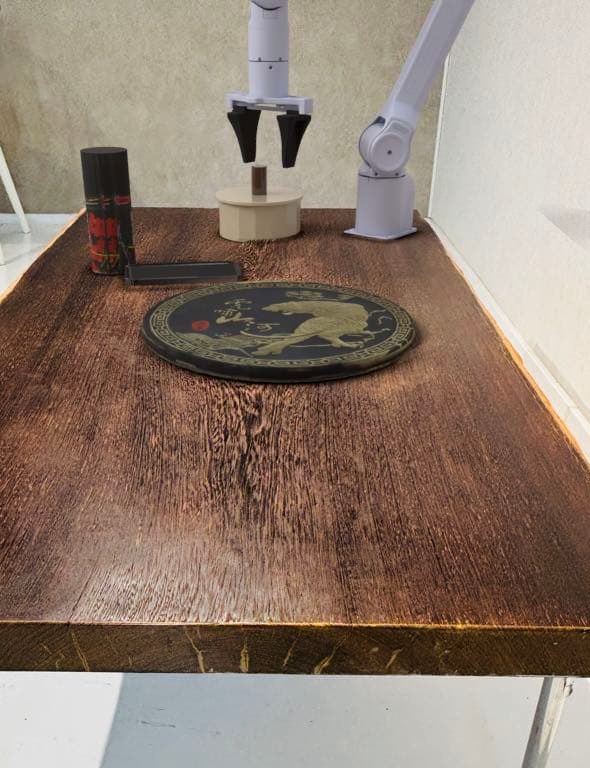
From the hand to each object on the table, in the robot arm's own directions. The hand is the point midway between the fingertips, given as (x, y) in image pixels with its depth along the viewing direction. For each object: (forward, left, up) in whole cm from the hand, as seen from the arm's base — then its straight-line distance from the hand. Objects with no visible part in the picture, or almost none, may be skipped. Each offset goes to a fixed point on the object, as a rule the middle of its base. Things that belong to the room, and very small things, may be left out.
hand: (268, 164), depth 128 cm
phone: (+26, +7, -10) cm, 29 cm away
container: (-1, -2, -10) cm, 11 cm away
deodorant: (+28, -4, -10) cm, 30 cm away
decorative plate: (+35, +30, -10) cm, 47 cm away
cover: (-1, -2, -5) cm, 6 cm away
